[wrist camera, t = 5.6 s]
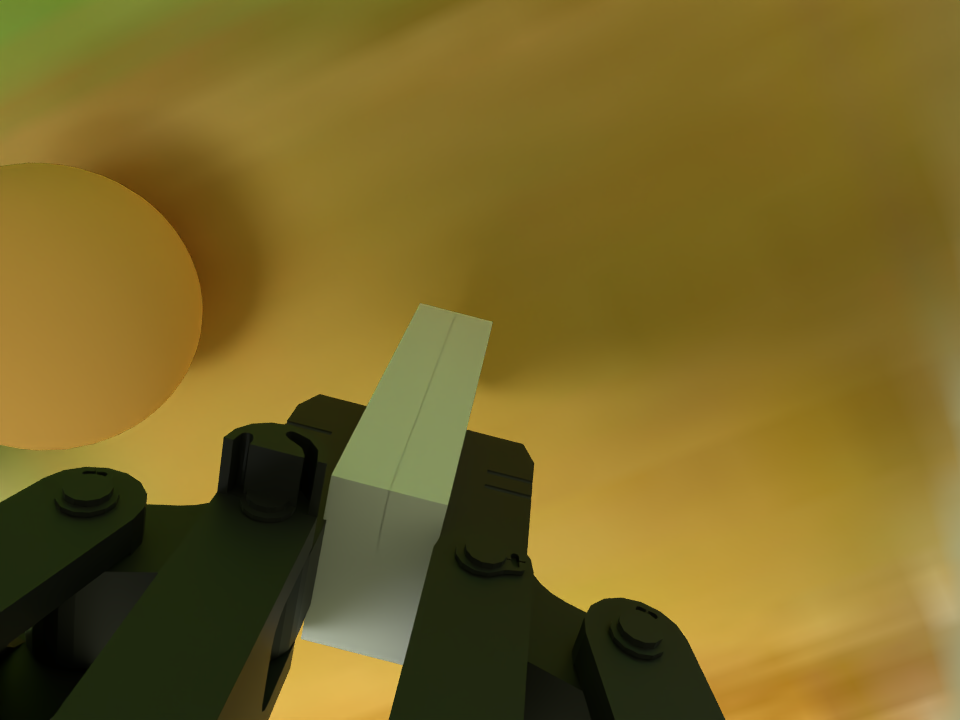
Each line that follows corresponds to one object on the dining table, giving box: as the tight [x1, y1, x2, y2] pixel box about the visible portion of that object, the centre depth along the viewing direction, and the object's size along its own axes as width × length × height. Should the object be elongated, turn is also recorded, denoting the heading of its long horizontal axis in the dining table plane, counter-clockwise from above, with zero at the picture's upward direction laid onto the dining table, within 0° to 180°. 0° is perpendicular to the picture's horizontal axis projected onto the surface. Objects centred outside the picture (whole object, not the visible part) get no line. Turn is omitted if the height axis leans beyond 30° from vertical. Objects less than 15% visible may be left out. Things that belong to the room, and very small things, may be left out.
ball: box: [0, 163, 203, 450], centre depth 16 cm, size 6×6×6 cm
